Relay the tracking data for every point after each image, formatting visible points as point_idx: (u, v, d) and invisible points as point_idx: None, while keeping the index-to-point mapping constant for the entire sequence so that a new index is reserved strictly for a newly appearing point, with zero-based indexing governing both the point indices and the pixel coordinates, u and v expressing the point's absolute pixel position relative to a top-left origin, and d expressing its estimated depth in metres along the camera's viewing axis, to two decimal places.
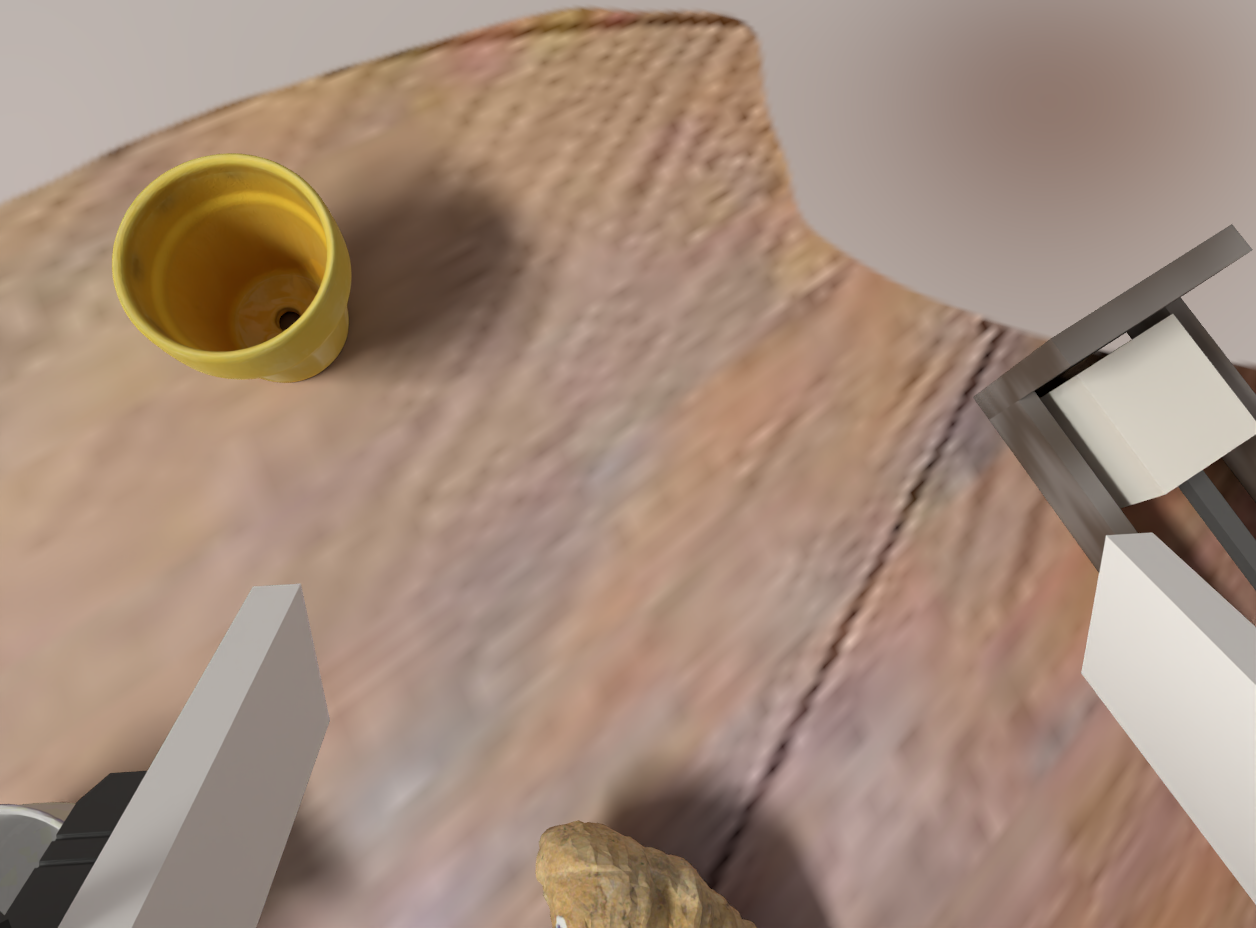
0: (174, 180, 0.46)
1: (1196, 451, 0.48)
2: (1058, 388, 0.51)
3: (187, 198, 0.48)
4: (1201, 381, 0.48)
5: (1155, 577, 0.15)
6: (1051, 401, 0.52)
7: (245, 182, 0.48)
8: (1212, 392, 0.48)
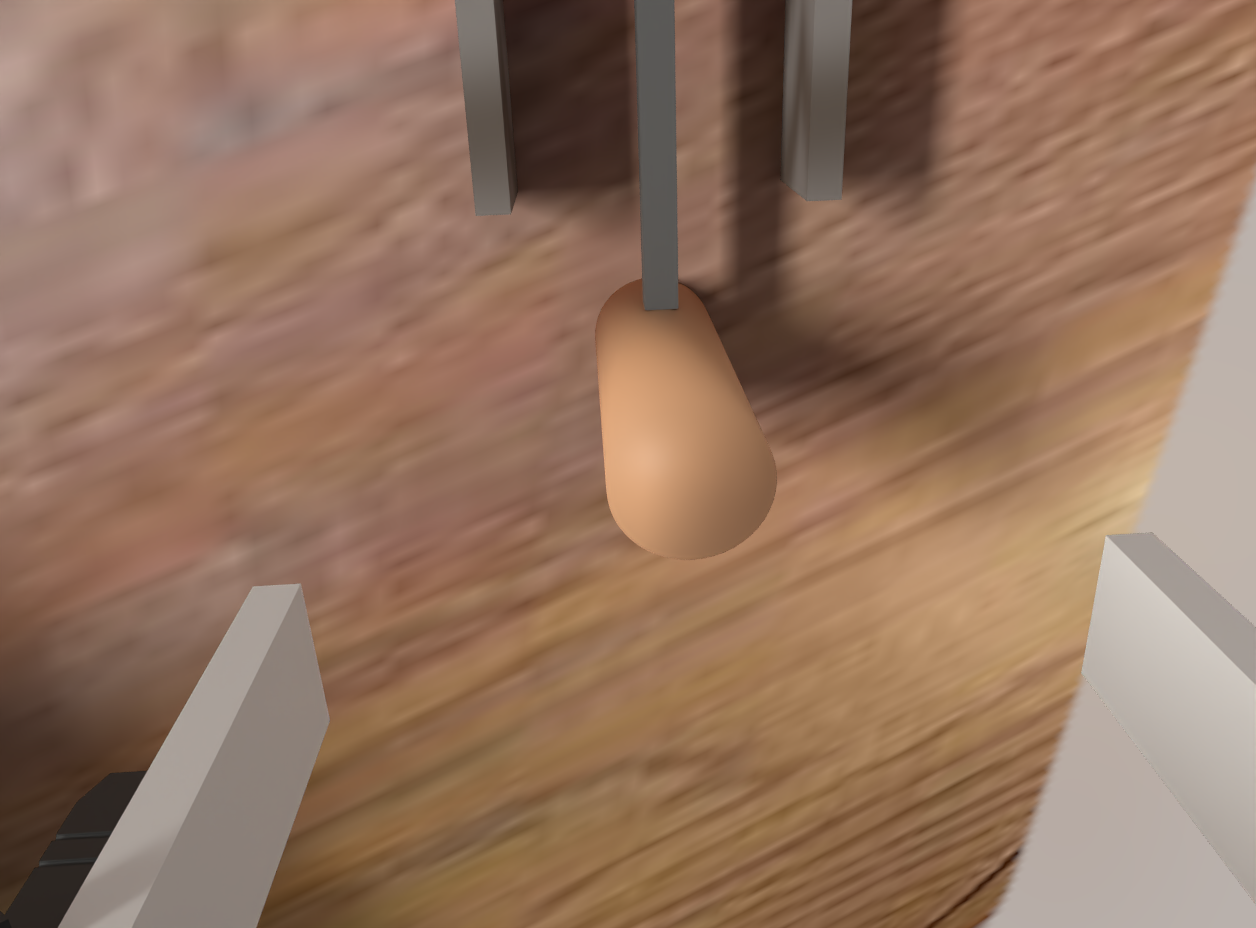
0: None
1: None
2: None
3: None
4: None
5: (1155, 577, 0.15)
6: None
7: None
8: None
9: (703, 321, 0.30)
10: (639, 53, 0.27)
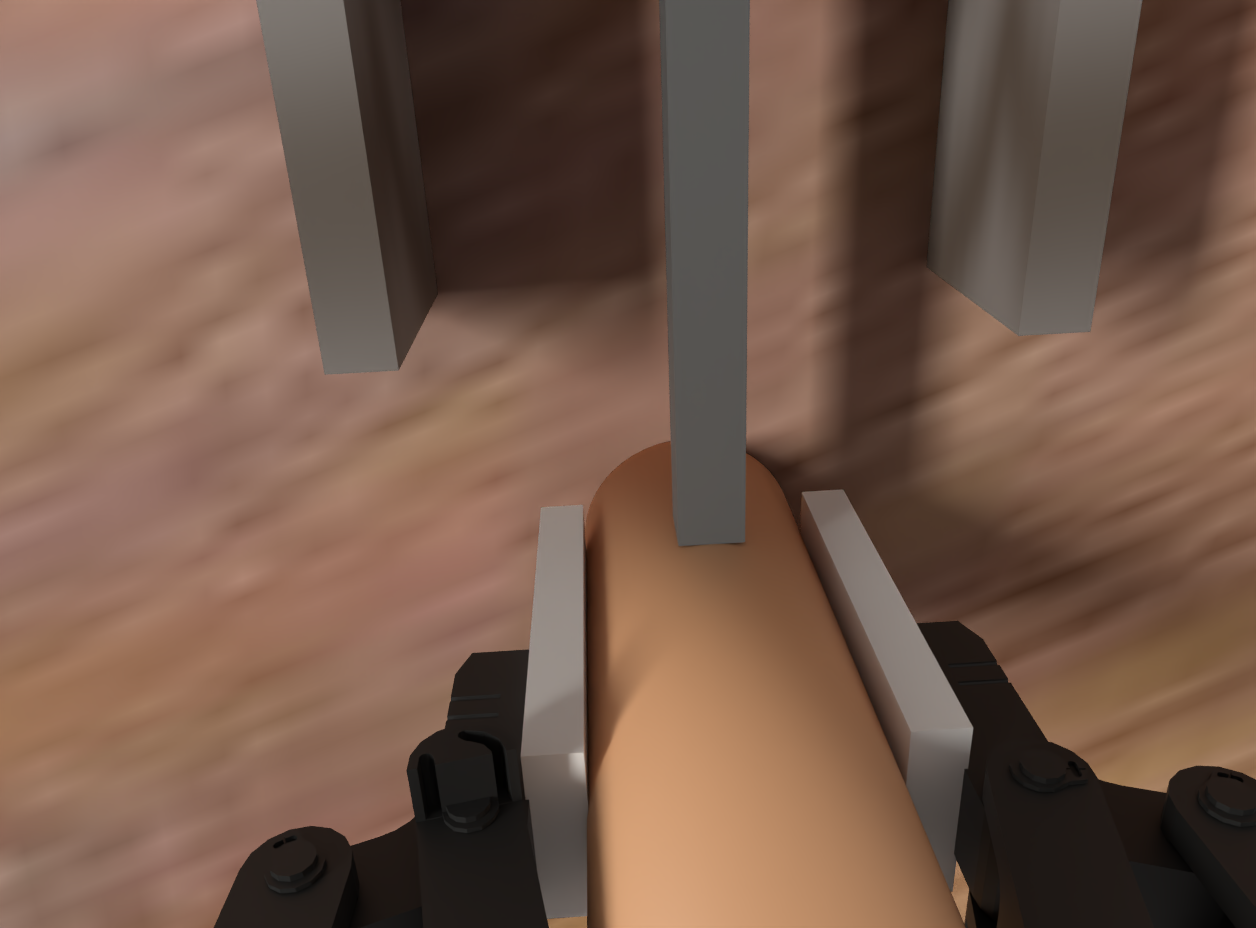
0: None
1: None
2: None
3: None
4: None
5: (822, 526, 0.17)
6: None
7: None
8: None
9: (794, 564, 0.15)
10: (669, 25, 0.12)
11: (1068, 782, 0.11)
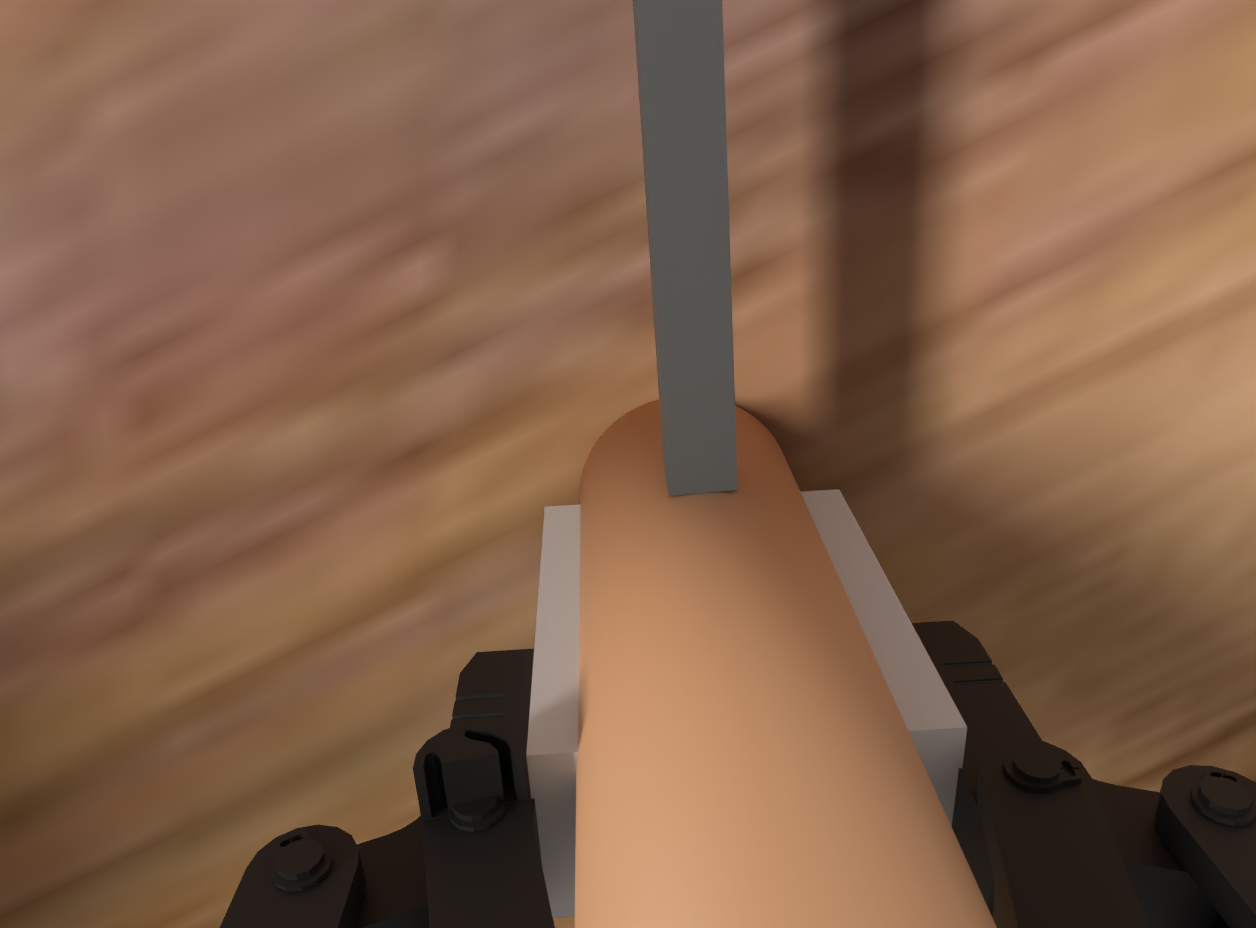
0: None
1: None
2: None
3: None
4: None
5: (819, 526, 0.17)
6: None
7: None
8: None
9: (789, 511, 0.15)
10: None
11: (1062, 781, 0.11)
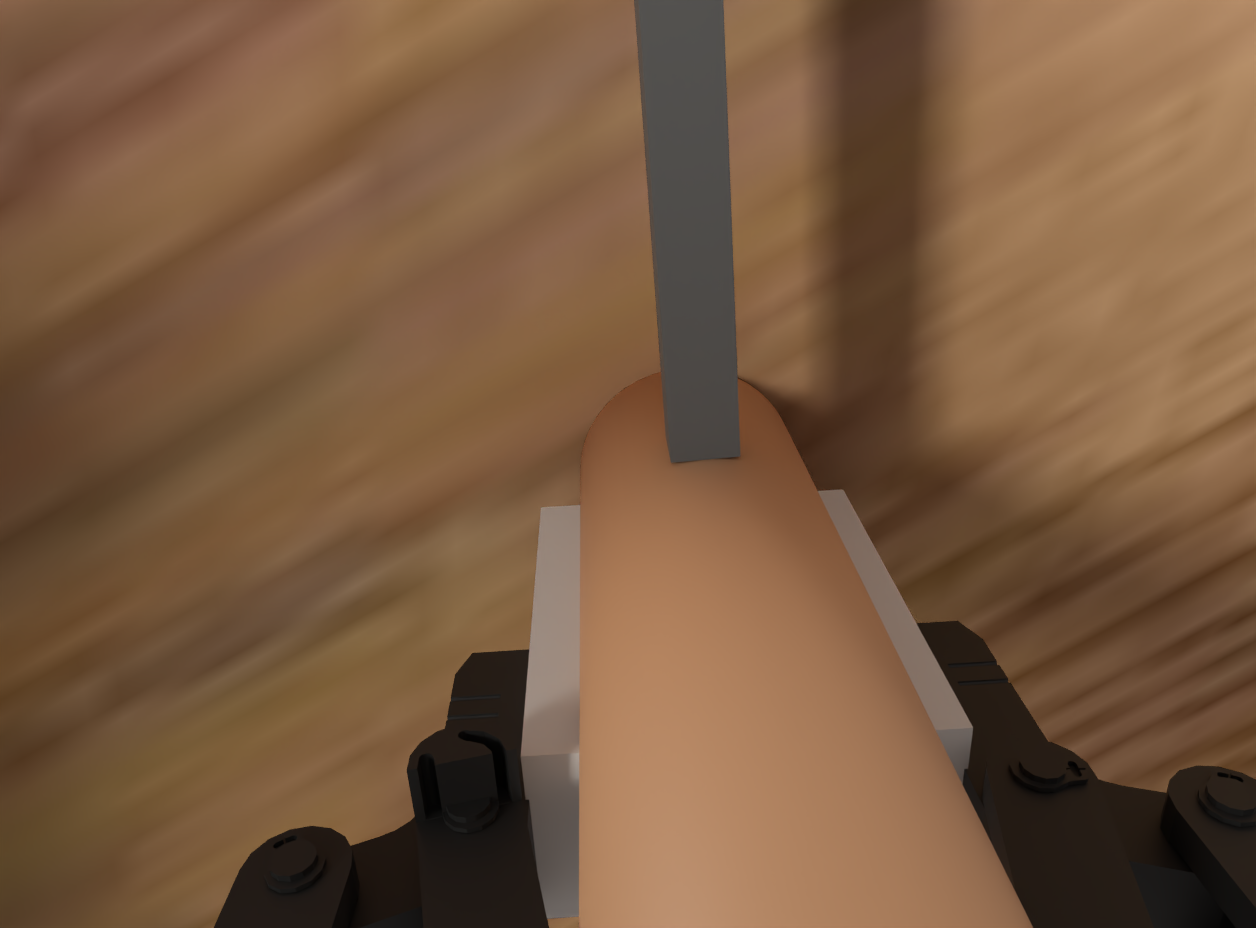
0: None
1: None
2: None
3: None
4: None
5: None
6: None
7: None
8: None
9: (792, 478, 0.14)
10: None
11: (1069, 783, 0.11)
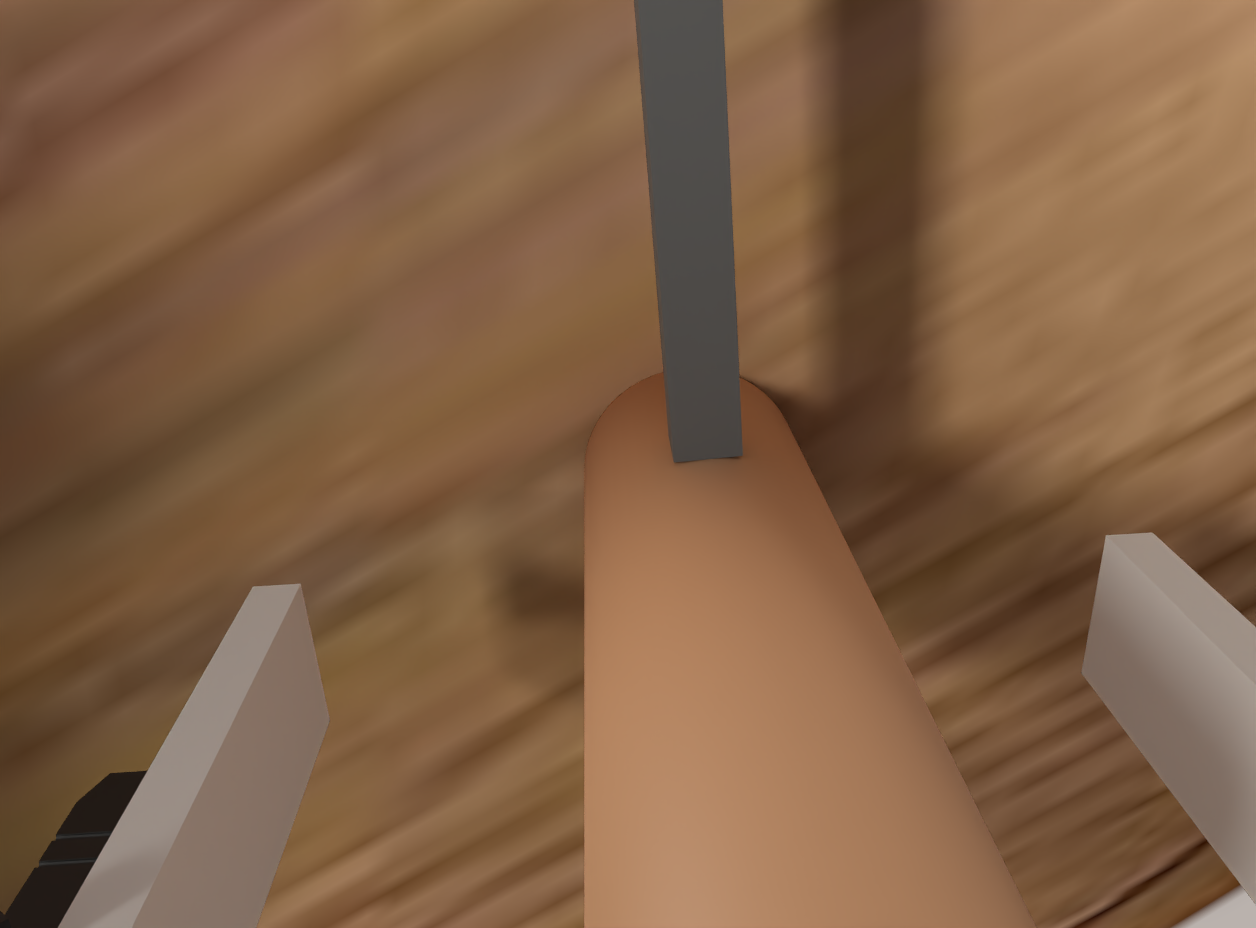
0: None
1: None
2: None
3: None
4: None
5: (1155, 577, 0.15)
6: None
7: None
8: None
9: (795, 477, 0.14)
10: None
11: None
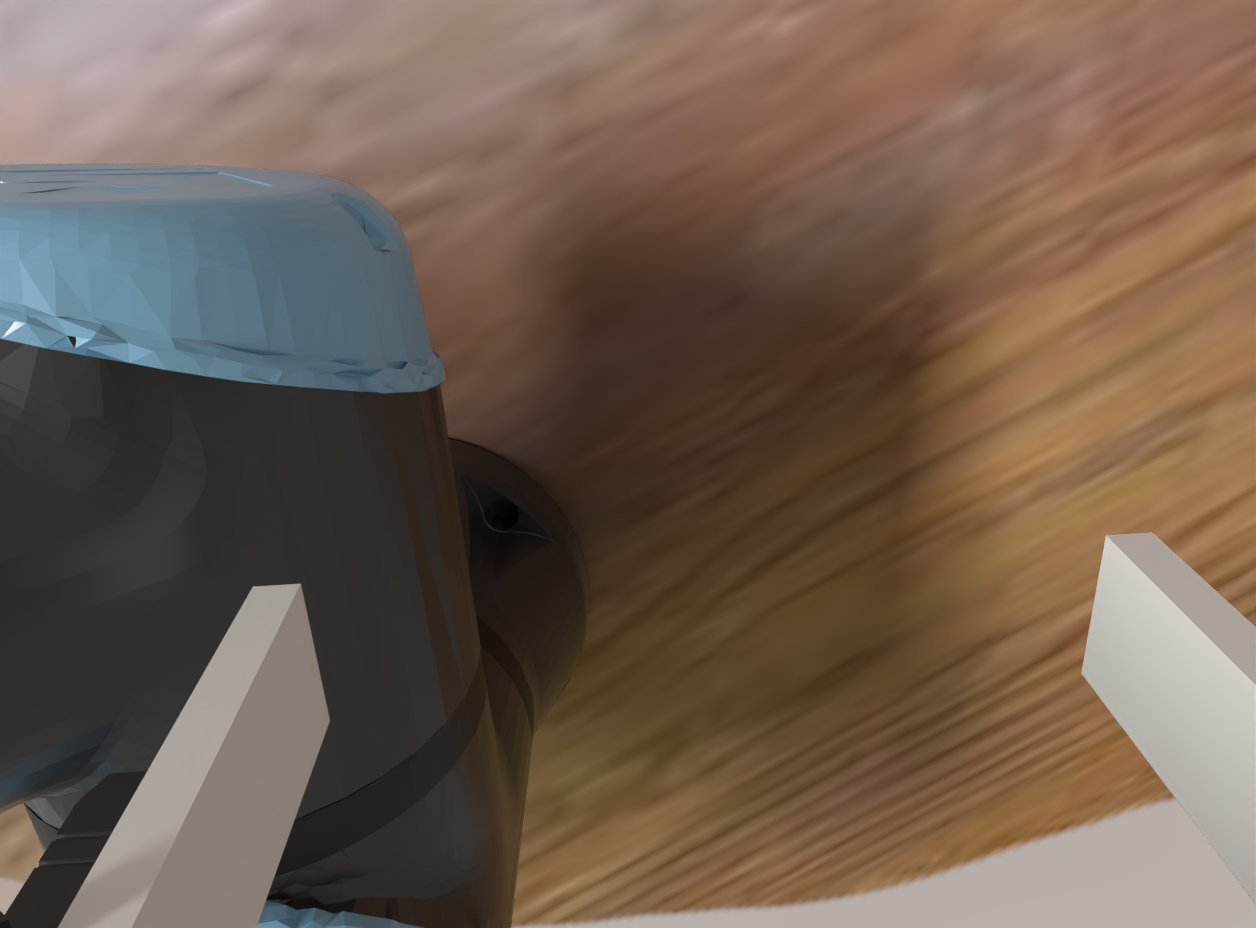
0: None
1: None
2: None
3: None
4: None
5: (1155, 577, 0.15)
6: None
7: None
8: None
9: None
10: None
11: None
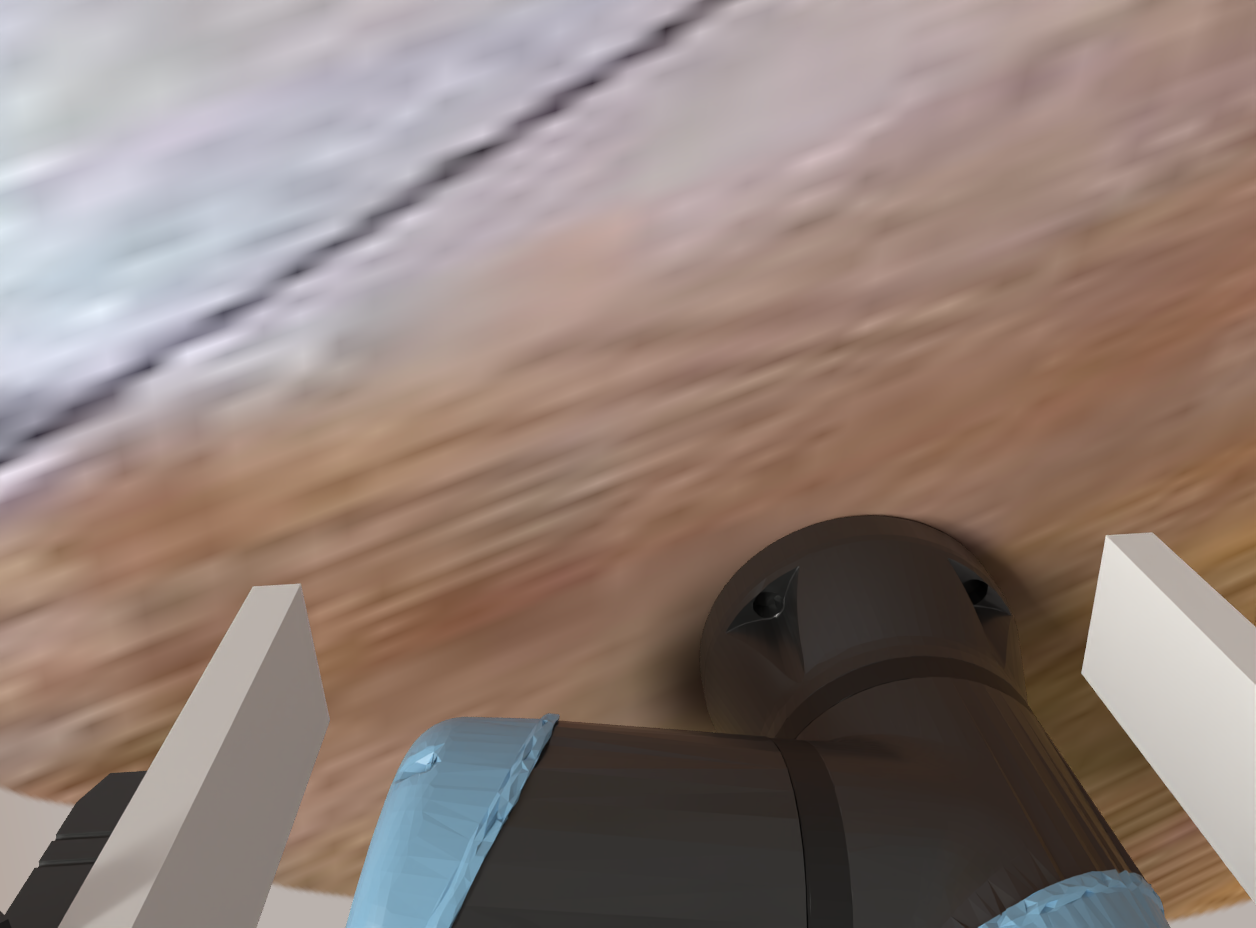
0: None
1: None
2: None
3: None
4: None
5: (1155, 577, 0.15)
6: None
7: None
8: None
9: None
10: None
11: None
